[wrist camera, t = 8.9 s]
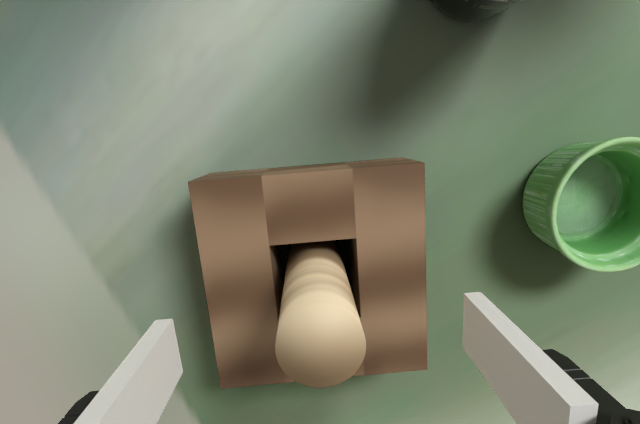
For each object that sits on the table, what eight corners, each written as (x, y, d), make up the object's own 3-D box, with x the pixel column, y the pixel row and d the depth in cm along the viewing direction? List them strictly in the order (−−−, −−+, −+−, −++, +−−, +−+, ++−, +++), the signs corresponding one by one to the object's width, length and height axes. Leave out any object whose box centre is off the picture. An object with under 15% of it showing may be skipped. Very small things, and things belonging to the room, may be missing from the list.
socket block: (210, 173, 25) (187, 181, 21) (402, 157, 26) (424, 162, 21) (235, 345, 28) (220, 388, 24) (406, 329, 29) (427, 369, 24)
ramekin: (511, 146, 26) (551, 148, 22) (630, 127, 26) (694, 126, 22) (514, 259, 28) (552, 282, 24) (626, 242, 28) (684, 261, 24)
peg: (285, 233, 27) (270, 310, 15) (338, 229, 27) (363, 301, 15) (290, 282, 28) (279, 391, 16) (341, 278, 28) (368, 383, 16)
